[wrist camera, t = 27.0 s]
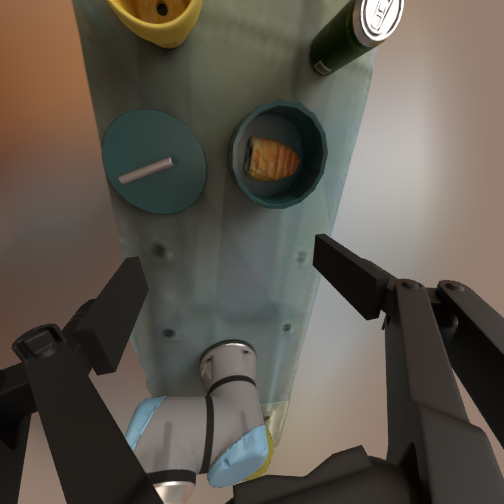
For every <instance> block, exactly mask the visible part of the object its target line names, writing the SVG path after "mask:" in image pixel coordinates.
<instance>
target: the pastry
mask: <svg viewBox="0 0 504 504" xmlns="http://www.w3.org/2000/svg"><path fill="white" fill-rule="evenodd" d="M299 162H300V159H299V158H298V156H297V153H296V152H295V151H293V150H292V149H291V148H290V147H288V146H286V145H284V144H281V143H280V142H278V141H277V140H270V139H267V138H257V137H255V136H253V137H251V138H250V140H249V145H248V148H247V161H246V163H245V173H246V175H247V176H248V177H250V178H253V179H254V180H256V181H269V182H270V181H276V180H279V179H282V178H285V177H290V176H291V175H293V174H294V173H295V171H296V169H297V167H298V164H299Z"/></svg>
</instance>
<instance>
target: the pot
mask: <svg viewBox="0 0 504 504" xmlns="http://www.w3.org/2000/svg"><path fill="white" fill-rule="evenodd" d="M253 136H255V137H257V138H267V139H270V140H277V141H278V142H280V143H281V144H284V145H286V146H288V147H290V148H291V149H292V150H293V151H295V152H296V153H297V156H298V158H299V159H300V162H299V164H298V167H297V169H296V171H295V173H294V174H293V175H291V176H290V177H285V178H282V179H279V180H276V181H270V182H269V181H256V180H254V179H253V178H250V177H248V176H247V175H246V173H245V163H246V161H247V148H248V145H249V140H250V138H251V137H253ZM327 154H328V150H327V143H326V135H325V131H324V129H323V128H322V126H321V124H320V122H319V120H318V119H317V117H316V115H315V114H314V113H313V112H312V111H310V110H309V109H308V108H306V107H305V106H303V105H302V104H301V103H299V102H294V101H287V100H280V99H278V100H275V101H272V102H270V103H267V104H264V105H262V106H259V107H257V108H256V109H255V110H253V111H252V112H251V113H250V114H248V115H247V116H246V117H245V118H244V119H243V120H242V121H241V122H240V123H239V125H238V126H237V127H236V128H235V129H234V132H233V134H232V136H231V139H230V142H229V144H228V155H227V156H228V167H229V170H230V173H231V176H232V178H233V181H234V182H235V183H236V184H237V186H238V187H239V188H240V189H241V190H242V191H243V192H244V193H245V195H246V196H247V197H248V198H249V199H250V200H251V201H252V202H254V203H257V204H259V205H261V206H263V207H265V208H271V209H285V208H287V207H290V206H292V205H295V204H298V203H300V202H301V201H303V200H304V199H305V198H306V197H307V196H308V195H309V194H310V193H312V192H313V191H314V189H315V188H316V186H317V184H318V182H319V181H320V179H321V177H322V175H323V173H324V169H325V164H326V159H327Z"/></svg>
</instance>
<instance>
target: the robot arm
mask: <svg viewBox="0 0 504 504" xmlns="http://www.w3.org/2000/svg"><path fill="white" fill-rule="evenodd" d="M313 266H314V267H315V268H316V269H317V270H318V271H319V272H320V273H321V274H322V275H323V276H324V277H325V278H326V279H327V280H328V281H329V282H330V283H331V284H332V286H333V287H334V288H336V290H337V291H338V292H339V293H340V294H341V295H342V296H343V297H344V298H345V299H346V300H347V301H348V302H349V303H350V304H351V305H352V306H353V307H354V308H355V309H356V310H357V311H358V312H359V313H360V314H361V315H362V316H363V317H364V318H365V319H366V320H371V319H376V318H378V317H379V314H380V311H381V310H382V311H383V312H385V313H386V316H385V319H384V323H383V326H382V330H384V328H385V351H386V381H387V382H386V383H387V415H388V452H387V458H386V460H384V459H381V458H378V457H373V456H368V455H367V454H366V452H365V450H364V448H363V446H362V445H360V446H357V447H354V448H350V449H347V450H345V451H341V452H338V453H335V454H332V455H331V456H330V457H329V458H327V459H326V460H325V461H324V462H322V463H321V464H320V465H319V466H318V467H316V468H315V469H314V470H313V471H312V472H310V473H309V474H308V475H306V476H304V477H296V476H279V475H265V476H262V477H258V478H255V479H252V480H249V481H246V482H243V483H239V484H236V485H233V484H235V483H237V482H239V481H242V480H244V479H245V478H247V477H249V476H250V475H252V474H253V473H254V472H256V471H257V470H258V469H259V468H260V467H261V466H262V465H263V464H264V462H265V461H266V459H267V456H268V451H269V447H268V441H267V434H266V426H265V424H264V420H263V415H262V411H261V406H260V402H259V398H258V393H257V389H256V384H255V376H256V365H257V357H256V353H255V350H254V348H253V347H252V346H251V345H250V344H249V343H247V342H244V341H241V340H226V341H222V342H219V343H217V344H214V345H213V346H211V347H210V348H208V349H207V350H206V351H205V352H204V354H203V355H202V357H201V360H200V373H201V376H202V378H203V381H204V384H205V387H206V390H207V396H167V395H165V396H163V397H154V398H147V399H144V400H143V401H142V402H141V403H140V404H139V405H138V407H137V408H136V410H135V412H134V414H133V417H132V419H131V421H130V424H129V426H128V429H127V431H126V434H125V436H124V435H123V434H122V432H121V430H120V429H119V427H118V425H117V424H116V422H115V420H114V419H113V417H112V415H111V414H110V412H109V410H108V409H107V407H106V405H105V404H104V402H103V400H102V399H101V397H100V395H99V394H98V392H97V390H96V389H95V387H94V385H93V383H92V382H91V380H90V378H89V377H88V375H89V373H90V371H91V369H92V367H93V369H94V371H95V372H96V374H97V375H102V374H107V373H113V372H116V369H117V367H118V364H119V362H120V359H121V357H122V354H123V352H124V349H125V347H126V344H127V342H128V340H129V337H130V335H131V332H132V330H133V327H134V325H135V322H136V320H137V317H138V315H139V312H140V310H141V307H142V305H143V302H144V300H145V298H146V295H147V293H148V290H149V289H148V285H147V282H146V279H145V276H144V273H143V269H142V266H141V263H140V260H139V257H130V258H126V259H125V261H124V262H123V263H122V265H121V266H120V267H119V269H118V270H117V272H116V273H115V274H114V275H113V277H112V278H111V280H110V281H109V282H108V284H107V285H106V286H105V288H104V289H103V290H102V292H101V293H100V294H99V296H98V297H97V298H96V299H91V300H89V301H88V302H86V303H85V304H83V305H82V306H81V307H80V308H79V309H78V311H77V312H76V313H75V315H74V316H73V317H72V318H71V321H69V322H68V323H67V325H66V326H65V327H64V328H63V329H62V331H61V330H60V328H59V327H58V326H57V325H56V324H46V325H41V326H39V327H36V328H34V329H31V330H30V331H28V332H26V333H24V334H23V335H22V336H20V337H19V338H18V339H17V340H16V341H15V342H14V343H13V344H12V350H13V351H14V352H15V353H16V355H17V356H18V357H19V358H20V360H21V361H22V362H21V363H19V364H16V365H13V366H11V367H8V368H5V369H3V370H0V504H17V502H18V496H19V490H20V483H21V477H22V471H23V464H24V458H25V452H26V445H27V439H28V433H29V426H30V420H31V414H32V413H34V412H37V411H38V412H39V415H40V419H41V422H42V425H43V428H44V431H45V435H46V438H47V441H48V444H49V448H50V451H51V454H52V457H53V460H54V464H55V467H56V470H57V473H58V476H59V479H60V483H61V486H62V490H63V493H64V496H65V499H66V502H67V504H186V503H187V501H188V499H189V497H190V496H191V495H192V493H193V492H194V490H195V484H196V475H198V474H204V473H208V474H207V479H208V480H209V484H210V485H211V486H212V487H218V488H221V487H226V486H230V485H233V494H234V497H233V498H231V499H230V500H229V501H228V502H226V503H225V504H504V479H503V476H502V474H501V471H500V468H499V466H498V463H497V460H496V458H495V455H494V452H493V450H492V447H491V444H490V442H489V440H488V438H487V436H486V433H485V432H484V431H483V430H482V429H481V428H479V427H477V426H475V425H472V424H471V423H470V422H469V419H468V417H467V414H466V411H465V407H464V404H463V401H462V398H461V396H460V392H459V389H458V386H457V383H456V380H455V377H454V374H453V371H452V368H453V370H454V371H455V373H456V375H457V376H458V378H459V379H460V381H461V383H462V384H463V386H464V387H465V389H466V391H467V392H468V394H469V395H470V397H471V398H472V400H473V402H474V403H475V405H476V406H477V407H478V409H479V411H480V412H481V414H482V416H483V417H484V419H485V421H486V422H487V424H488V425H489V427H490V428H491V430H492V432H493V433H494V435H495V436H496V438H497V440H498V441H499V442H500V444H501V446H502V447H503V449H504V318H503V317H502V316H501V315H500V314H498V313H497V312H496V311H495V310H494V309H493V308H492V307H491V306H489V305H488V304H487V303H486V302H485V301H484V300H483V299H481V297H479V296H478V295H477V294H476V293H475V292H474V291H473V290H471V289H470V288H469V287H467V286H466V285H464V284H461V283H460V282H456V281H450V280H442V281H439V283H438V285H437V288H425V287H424V286H423V285H422V284H421V283H418V282H416V281H414V280H410V279H397V278H395V277H394V276H393V275H391V274H390V273H388V272H386V271H385V270H382V268H380V267H379V266H377V265H376V264H374V263H372V262H371V261H368V260H366V259H362V258H360V257H359V256H357V255H356V254H354V253H353V252H351V251H350V250H348V249H347V248H345V247H344V246H342V245H340V244H339V243H338V242H336V241H335V240H333V239H332V238H330V237H329V236H327V235H326V234H318V235H315V245H314V256H313ZM457 322H458V324H457ZM451 367H452V368H451Z"/></svg>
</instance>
